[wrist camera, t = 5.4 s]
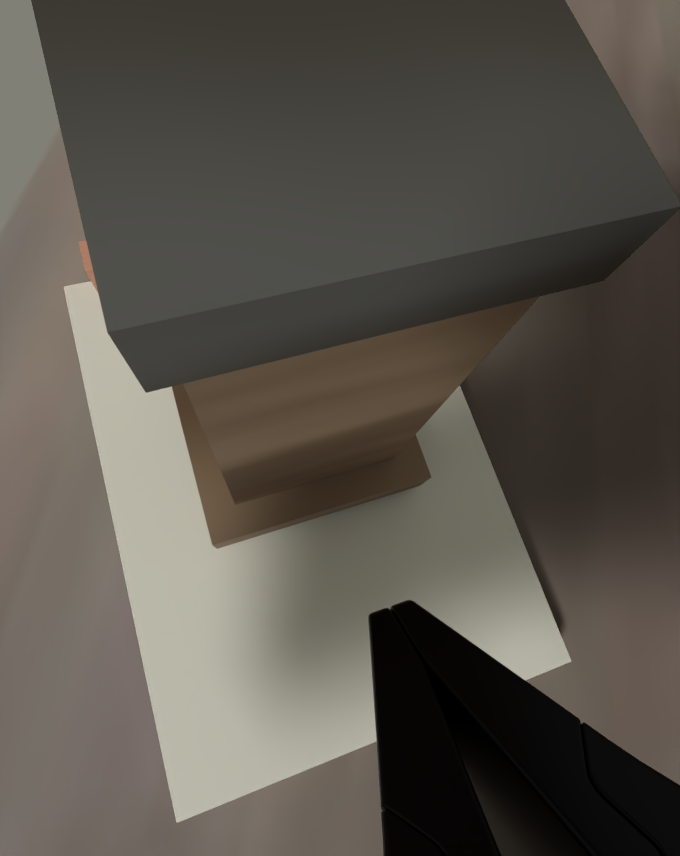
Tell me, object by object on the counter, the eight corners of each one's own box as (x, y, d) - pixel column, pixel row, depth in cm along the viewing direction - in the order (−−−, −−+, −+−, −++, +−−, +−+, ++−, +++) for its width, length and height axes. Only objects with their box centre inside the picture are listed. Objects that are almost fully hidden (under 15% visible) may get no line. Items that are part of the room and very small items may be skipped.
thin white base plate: (553, 657, 16) (602, 668, 13) (183, 807, 14) (164, 852, 11) (385, 232, 20) (400, 182, 17) (73, 295, 17) (41, 248, 15)
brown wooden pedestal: (419, 485, 16) (753, 241, 5) (217, 549, 14) (45, 414, 4) (355, 308, 17) (498, -186, 6) (166, 352, 16) (-64, -165, 5)
